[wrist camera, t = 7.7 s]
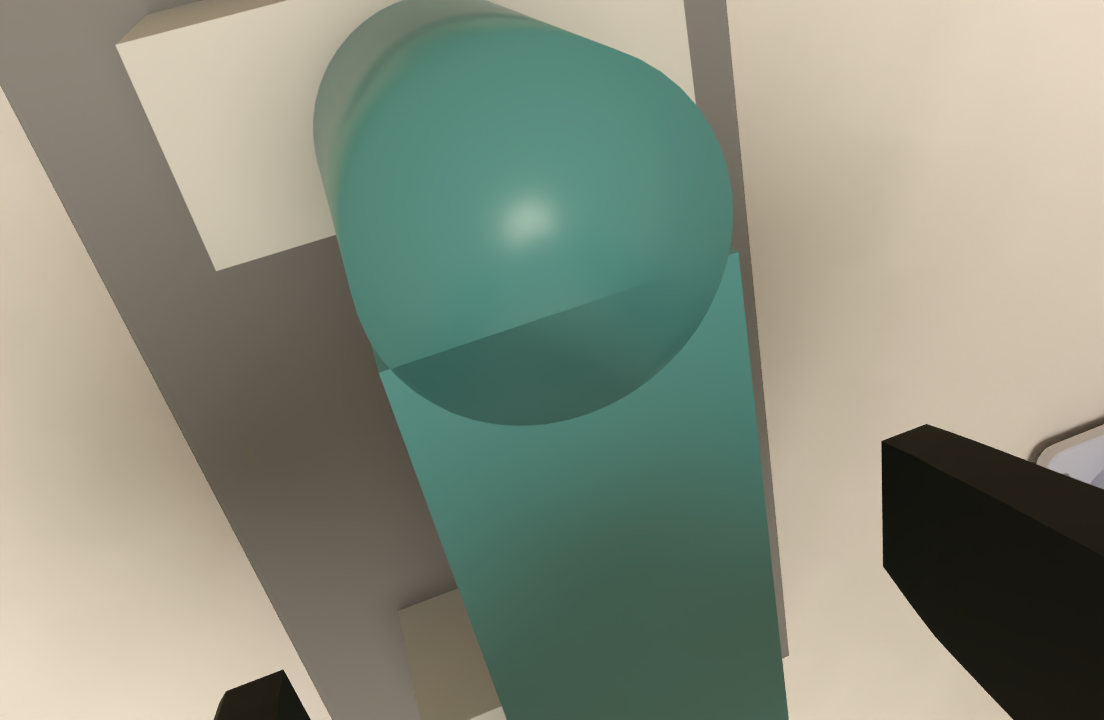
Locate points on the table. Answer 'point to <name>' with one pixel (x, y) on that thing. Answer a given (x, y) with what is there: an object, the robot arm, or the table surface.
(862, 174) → the table surface
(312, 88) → the display stand
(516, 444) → the teal dome-capped pillar
